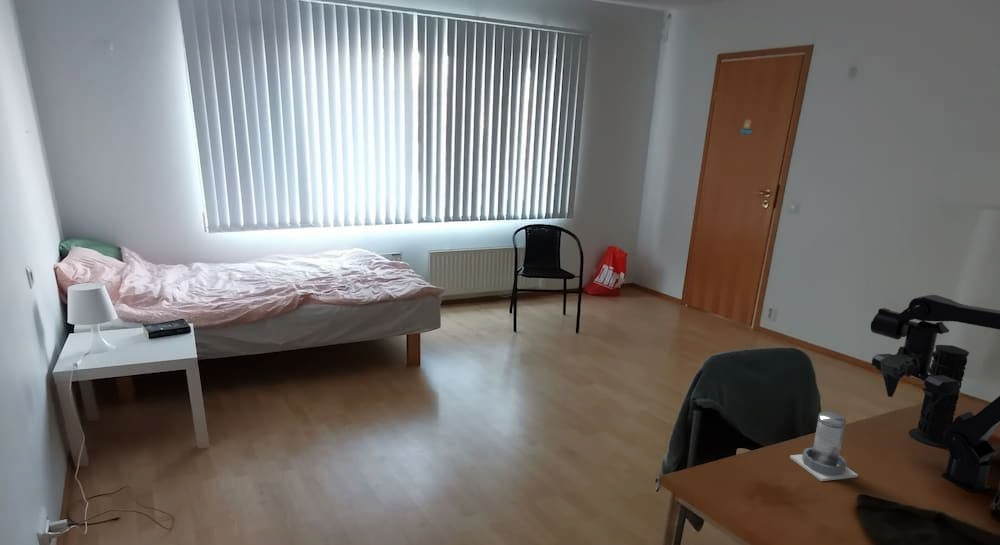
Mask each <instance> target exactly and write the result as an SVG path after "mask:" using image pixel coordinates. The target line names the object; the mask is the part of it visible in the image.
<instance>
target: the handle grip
mask: <svg viewBox="0 0 1000 545" xmlns="http://www.w3.org/2000/svg"><path fill="white" fill-rule="evenodd" d="M934 349H935V350H934V352H937V356H936V357H932V360H931V364H930V367H931V368H934V370H933V372H931V373H929V375H931V376H941V375H944V376H946V377H949V378H951V379H954V380H956V381H958V382H959V384H960V390H959V393H961V389H962V388H961V387H962V382H963V380H964V379H963V378H964V376H965V370H966V366H967V363H968V356H969V355H970V352H969V351H968V350H967V349H964V348H961V347H958V346H955V345H950V344H935V346H934ZM959 393H952V394H946V395H945V396H944V397H943V398H941V399H940V400H939V401H938V402H937V403H936V404H935V405H934V406H933V407H932V408H931V409H930V410H929V411H928V412H927V413H925V414H923V413H922V408H921V411H920V416H919V420H918V424H917V428H911V429H910V430H909V431H908V435H909V436H910V437H911V438H913V439H914V440H915V441H917V442H919V443H921V444H924V445H927V446H930V447H933V448H939V449H946V448H949V447H948V445H947V444H946V442H945V440H944V435H943V434H944V432H945V431H946V430H947V429H948V428H945V426H947V425H949V424H951V423H953V421H954V416H955V412H956V411H957V404H958V400H959V398H960V396H959ZM924 396H925V394H924ZM924 396H923V397H924ZM923 401H924V399H923ZM923 401H922V402H923ZM946 450H947V449H946Z"/></svg>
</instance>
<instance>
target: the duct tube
mask: <svg viewBox="0 0 1000 545" xmlns="http://www.w3.org/2000/svg"><path fill="white" fill-rule="evenodd" d="M846 423H847V422H846V418H845V417H844V416H842V415H841V414H838V413H835V412H833V411H820V412H819V414H818V417H817V424H816V431H815V436H814V441H813V446H812V448H813V451H812V457H811V459H813V460H814V461H816V462H818V463H821V464H823V465H829V466H837V464H838V459H839V455H840V452H841V447H842V443H843V442H842V441H843V437H844V431H845V427H846Z"/></svg>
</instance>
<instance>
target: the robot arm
mask: <svg viewBox="0 0 1000 545" xmlns="http://www.w3.org/2000/svg"><path fill="white" fill-rule="evenodd" d="M913 320H917V321H919V322H916V321H913ZM934 322H936V323H934ZM944 322H956V323H962V324H966V325H972V326H977V327H984V328H988V329H994V330H1000V310H998V309H992V308H986V307H985V308H984V307H980V306H979V307H978V306H974V305H973V306H972V305H967V304H963V303H959V302H957V301H955V300H954V299H951V298H948V297H943V296H941V295H938V294H927V295H922V296H917V297H915V298H913V299H911V301H910V302H909V304H908V307H907V308H905V309H904V310H903V311H901V312H898V311H894V310H890V309H888V308H885V307H882V308H879V309H878V312H877V313H876V314H875V316H874V317H873V319H872V320H871V323H870V331H871V333H873V334H876V335H880V336H883V337H887V338H890V339H894V340H897V341H898V340H900V339H902V338H905V341H904V345H903V346H899V348H898V350H897V353H894V354H892V353H877V354H875V355H873V356H872V358H871V365H872V366H874V367H875V368H874V369H876V370H877V371H878V372H879V373H880V374H881V375H882V377H883V381H884V386H885V390H886V394H887V397H889V398H892V397H894V394H895V393H896V390H897V387H898V384H899V382H900V379H901V378H903V377H904V376H906V377H908V378H909V377H910V378H911V377H913V378H916V379H918V380H920V381H922V382H924V383H923V386H925V387H923V388H921V390H922V391H923V394H924V395H925V396H923V400H924V401H922V405H921V409H922V413H923V414H925V413H927V412H928V411H929V410H930V409H931V408H932V407H933V406H934V405H935V404H936V403H937V402H938V401H939V400H940V399H941V398H943V397H944V396H945V395H946V394H952V393H960V392H959V390H960V391H961V388H960V384H959V382H958V381H956V380H954V379H951V378H949V377H946V376H944V375H941V376H931V375H930V373H931V372H933V370H934V368H931V365H932V360H933V357H936V356H937V352H935V346H936V341H937V337H938V334H939V335H942V334H946V333H949V332H950V329H949V328H948V327H947V326H945V324H944ZM999 424H1000V395H999V396H998V397H996V398H995V399H994V400H992V401H991V402H990V403H988V405H986V406H985V407H984V408H982V410H980V411H979V412H978V413H976V414H975V415H974V413H973V412H972V411H967V412H965V413H962V414H960V415H958V416H956V418H954V419H953V422H952V423H951V424H949V425H947V426H945V428H948V429H947V430H946V431H945V432H944V434H943V435H944V440H945V442H946V444H947V445H948V447H949V449H948V450H949V456H948V459H947V463H946V464H947V465H946V467H945V472H941V476H942V477H943V478H945V479H946V480H948V481H950V482H952V483H954V484H955V485H957V486H959V487H961V489H965V490H966V491H967V492H973V491H974V492H975V491H981V490H990V489H991V485H989V484H987V481H988V476H989V473H990V470H991V464H990V463H988V460H992V459H993V458H994V457H995V456H996V454H998V453H997V450H996V449H995V448H994V446H993V445H992V443H990V440H989V438H990V437H991V436H992V435H993V433H994V431H995V430H996V428H997V427H998V425H999Z"/></svg>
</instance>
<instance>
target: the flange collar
mask: <svg viewBox="0 0 1000 545" xmlns="http://www.w3.org/2000/svg"><path fill="white" fill-rule="evenodd" d="M812 451H813V447H806V448H805V449H804V450H803V451H802V454H801V453H800V454H793V455H792V454H791V455H789V458H790V459H791V460H792V461H794V462H795V463H797V464H798V465H799V466H800V467H802V468H803V469H805V470H806V471H807V472H808V473H810V474H811V475H812V476H813V477H815V478H816V479H818V480H819V481H820V482H825V481H835V480H845V479H846V480H847V479H853V478H858V477H859V474H858V473H856V472H854V471H853V470H851V469H850V468H849V467H847V464H848V463H847V462H846V460H845V458H844V457H843V456H841V455H840V454H839V459H838V464H837V466H829V465H823V464H821V463H818V462H816V461H814V460H813V459H811V457H812Z"/></svg>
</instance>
